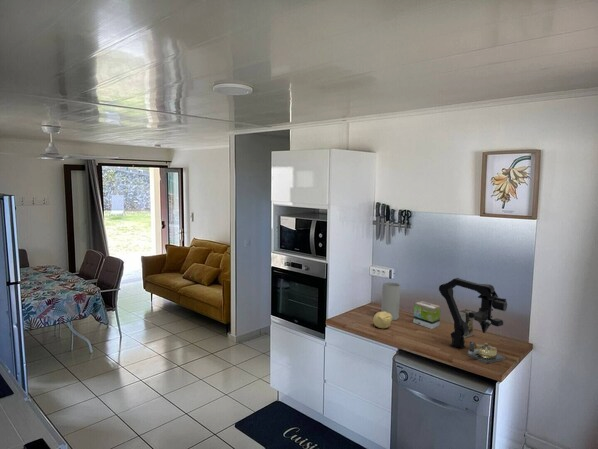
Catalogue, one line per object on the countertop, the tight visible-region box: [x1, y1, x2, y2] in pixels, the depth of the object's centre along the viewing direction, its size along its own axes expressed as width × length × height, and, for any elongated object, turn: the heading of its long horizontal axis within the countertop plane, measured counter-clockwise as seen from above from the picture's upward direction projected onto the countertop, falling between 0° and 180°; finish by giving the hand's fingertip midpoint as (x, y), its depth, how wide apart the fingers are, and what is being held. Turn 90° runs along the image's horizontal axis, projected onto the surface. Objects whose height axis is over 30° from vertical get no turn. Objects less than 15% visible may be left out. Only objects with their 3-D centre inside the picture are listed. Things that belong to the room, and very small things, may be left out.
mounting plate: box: [466, 351, 506, 365], centre depth 231 cm, size 13×15×2 cm
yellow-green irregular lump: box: [468, 341, 498, 358], centre depth 229 cm, size 17×11×8 cm, turn 110°
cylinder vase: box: [380, 281, 401, 322], centre depth 294 cm, size 12×12×25 cm
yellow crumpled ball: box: [373, 311, 393, 329], centre depth 275 cm, size 12×12×11 cm
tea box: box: [412, 300, 441, 330], centre depth 282 cm, size 15×10×15 cm, turn 42°
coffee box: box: [458, 308, 475, 339], centre depth 264 cm, size 9×6×16 cm
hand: (484, 332), depth 233 cm, fingers closed
